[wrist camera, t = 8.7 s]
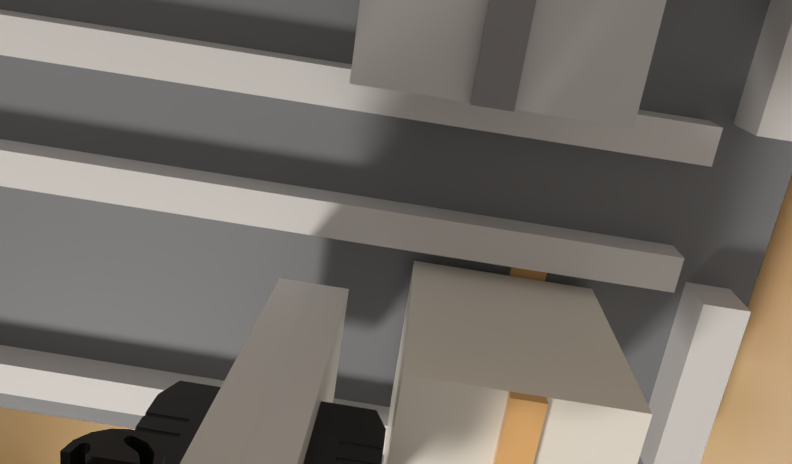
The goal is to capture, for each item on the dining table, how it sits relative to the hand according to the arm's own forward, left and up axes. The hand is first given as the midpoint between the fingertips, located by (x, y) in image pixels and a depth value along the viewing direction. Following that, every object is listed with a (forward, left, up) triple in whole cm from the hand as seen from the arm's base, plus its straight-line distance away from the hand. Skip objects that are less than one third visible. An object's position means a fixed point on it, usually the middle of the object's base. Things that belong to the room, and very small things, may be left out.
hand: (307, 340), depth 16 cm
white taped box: (+4, 0, -1) cm, 4 cm away
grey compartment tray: (0, +4, -3) cm, 5 cm away
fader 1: (+3, +8, -1) cm, 8 cm away
